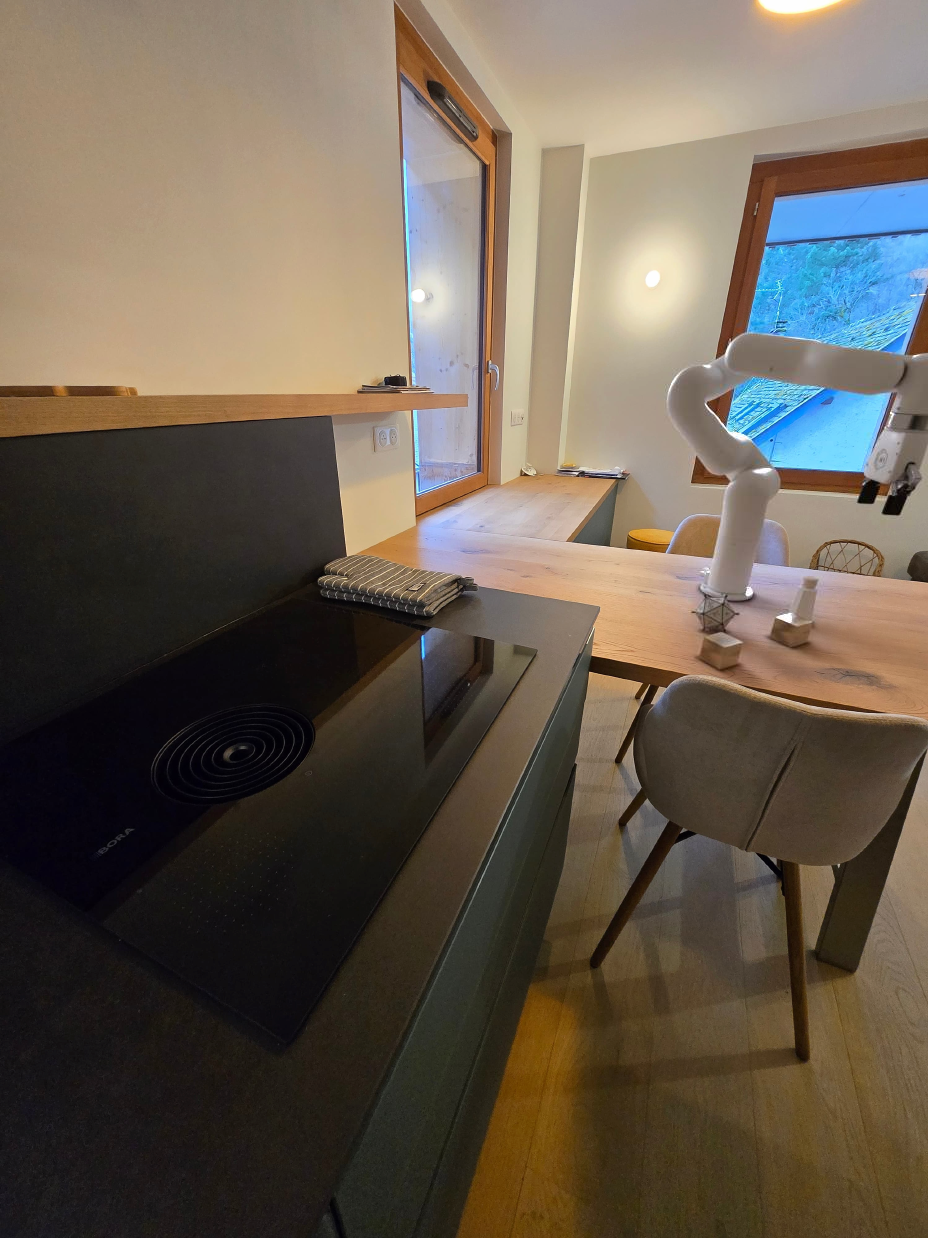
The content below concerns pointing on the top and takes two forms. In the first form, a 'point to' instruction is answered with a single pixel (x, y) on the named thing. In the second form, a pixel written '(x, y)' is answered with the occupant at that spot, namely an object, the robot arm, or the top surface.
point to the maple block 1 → (720, 650)
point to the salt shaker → (805, 598)
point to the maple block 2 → (791, 629)
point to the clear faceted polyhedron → (715, 613)
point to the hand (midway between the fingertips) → (877, 508)
